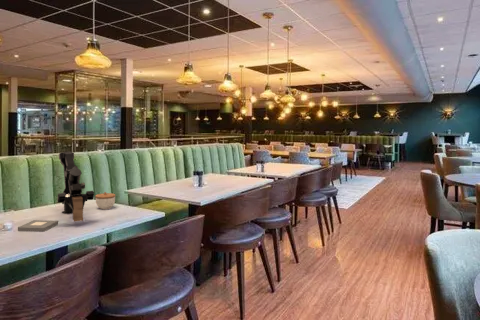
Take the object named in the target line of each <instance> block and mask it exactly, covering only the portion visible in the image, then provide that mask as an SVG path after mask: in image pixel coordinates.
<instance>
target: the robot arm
mask: <svg viewBox="0 0 480 320" xmlns="http://www.w3.org/2000/svg"><path fill="white" fill-rule="evenodd" d="M74 159H75V152H73V151H70V150H69V151H61V152H59V154H58V160H59V161H60V164H61V165H62V166H63V167H62V168H63V177H64V178H63V179H64V190H63V191H62V192H60V193H57V199H56V200H57V203H58V204H60V203H61V204H62V205H63V211H61V213H62V214H63V213H64V214H67V215H69V214H73V210H74V208H73V203H72V197H78V196H81V197H82V198H83V208H85V207H84V206H85V203H86V202H88V201H93V200H94V197H95V191H94V190H87V191H85V192H86V193H82V191H83V189H84V190H85V189H86V184H85V182H81V183H80V180H81V175H83V174H82V170H81V169H80V168H78V166H77V165H75V161H74Z"/></svg>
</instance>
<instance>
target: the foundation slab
mask: <svg viewBox="0 0 480 320" xmlns="http://www.w3.org/2000/svg"><path fill="white" fill-rule="evenodd" d="M57 225H59V220H45V219H44V220H43V219H42V220H41V219H39V220H38V219H33V220H30V221H28V222H26V223H24V224H22V225H20V226H18V227H17V232H39V233H41V232H46V231H48V230H50V229H52V228H54V227H56V226H57Z"/></svg>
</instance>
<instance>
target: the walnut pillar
mask: <svg viewBox="0 0 480 320" xmlns="http://www.w3.org/2000/svg"><path fill="white" fill-rule="evenodd" d="M72 203H73V208H74V210H73V213H72V220H73V222H75V223H76V222H82V221H84V207H83V198H82V197H81V196H78V197H72Z"/></svg>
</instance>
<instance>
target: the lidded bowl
mask: <svg viewBox="0 0 480 320" xmlns="http://www.w3.org/2000/svg"><path fill="white" fill-rule="evenodd" d="M94 197H95V203H96V207H98V208H99V209H100V210H110V209H112V207H114V205H115V203H116V202H115V201H116V194H115V193H107V192H106V191H104V193H98V194H96V195H94Z"/></svg>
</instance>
